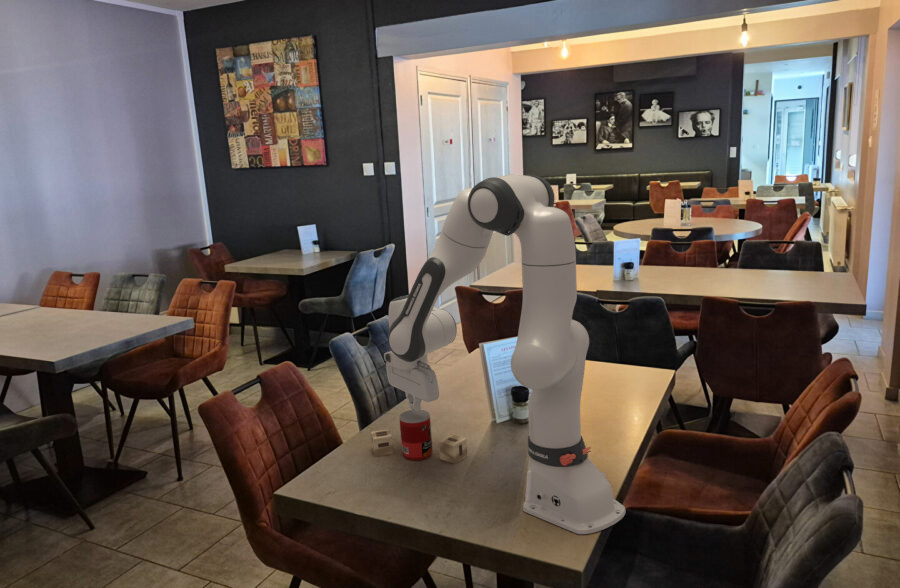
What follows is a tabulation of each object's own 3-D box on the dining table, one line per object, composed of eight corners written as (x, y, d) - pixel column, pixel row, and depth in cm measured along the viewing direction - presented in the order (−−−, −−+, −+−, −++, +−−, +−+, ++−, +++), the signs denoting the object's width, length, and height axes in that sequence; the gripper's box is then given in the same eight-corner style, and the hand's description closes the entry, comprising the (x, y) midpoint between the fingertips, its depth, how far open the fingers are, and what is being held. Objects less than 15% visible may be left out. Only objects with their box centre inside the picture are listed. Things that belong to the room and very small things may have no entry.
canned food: (429, 461, 166) (425, 420, 163) (399, 460, 167) (395, 420, 165) (435, 448, 173) (432, 409, 171) (406, 447, 175) (403, 409, 172)
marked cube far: (393, 454, 171) (392, 435, 170) (375, 457, 170) (373, 438, 169) (391, 446, 176) (389, 428, 175) (372, 449, 175) (370, 431, 174)
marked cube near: (468, 456, 167) (466, 438, 166) (455, 464, 163) (453, 445, 162) (452, 452, 170) (451, 433, 169) (440, 459, 167) (438, 440, 166)
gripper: (442, 362, 158) (447, 416, 160) (401, 347, 175) (406, 396, 177) (420, 368, 155) (425, 423, 157) (380, 353, 171) (385, 402, 174)
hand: (415, 409), depth 167 cm, fingers closed
